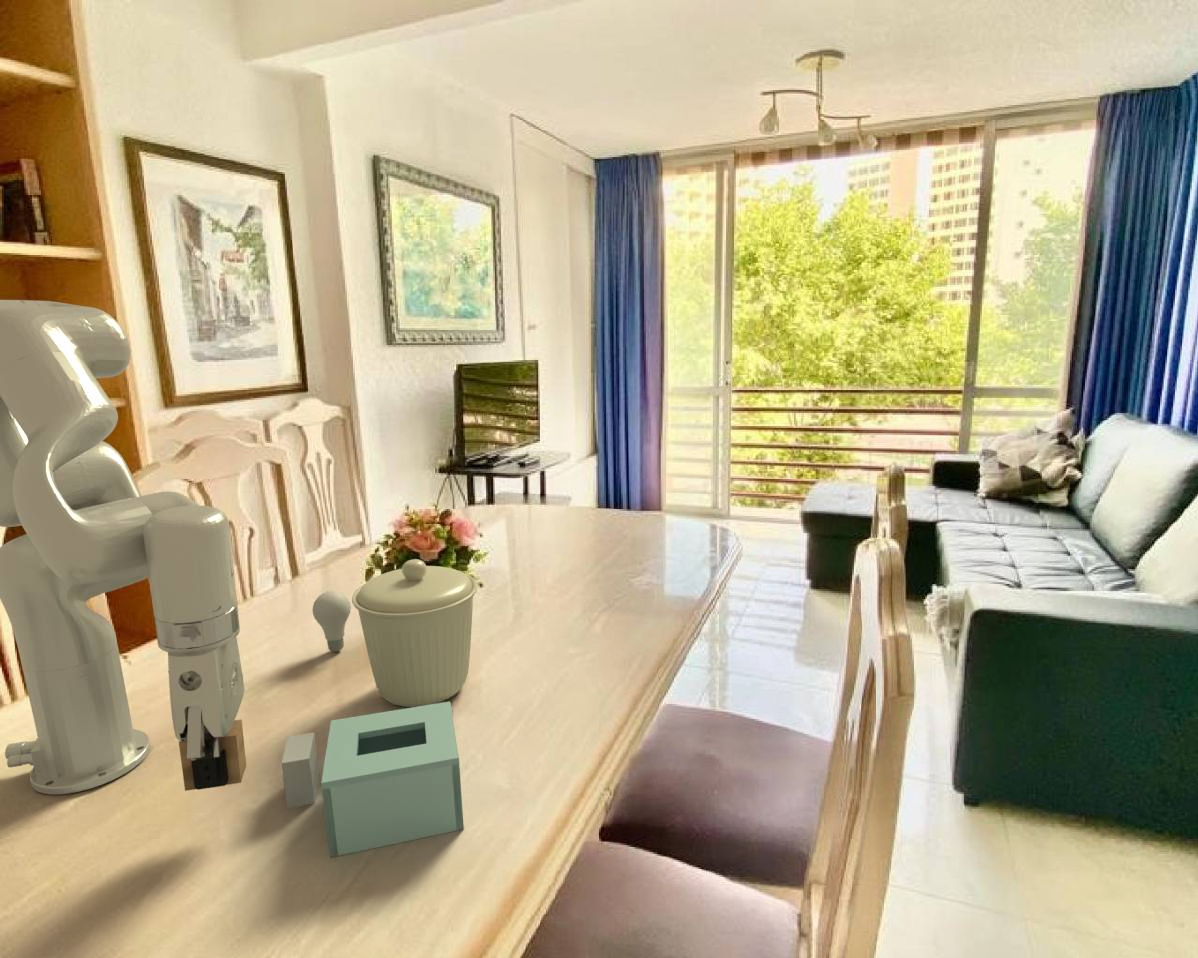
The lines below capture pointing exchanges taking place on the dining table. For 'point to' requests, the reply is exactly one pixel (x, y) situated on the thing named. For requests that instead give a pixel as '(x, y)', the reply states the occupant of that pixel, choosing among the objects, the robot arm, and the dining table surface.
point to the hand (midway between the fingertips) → (215, 773)
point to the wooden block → (234, 756)
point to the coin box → (391, 778)
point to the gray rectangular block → (300, 770)
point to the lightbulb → (332, 617)
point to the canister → (417, 631)
